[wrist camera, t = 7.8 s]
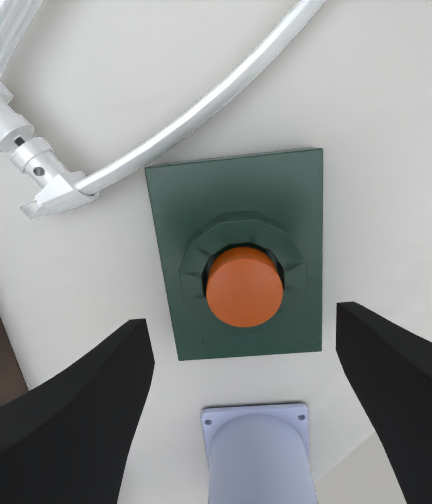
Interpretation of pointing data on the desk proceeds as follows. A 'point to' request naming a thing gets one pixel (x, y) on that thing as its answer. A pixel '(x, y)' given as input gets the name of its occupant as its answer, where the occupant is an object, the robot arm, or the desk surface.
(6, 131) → the door handle
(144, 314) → the desk surface
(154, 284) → the desk surface
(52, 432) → the robot arm
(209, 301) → the bell button
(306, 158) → the button base
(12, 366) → the panel
